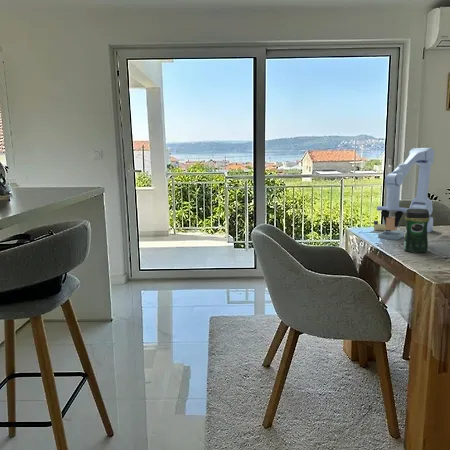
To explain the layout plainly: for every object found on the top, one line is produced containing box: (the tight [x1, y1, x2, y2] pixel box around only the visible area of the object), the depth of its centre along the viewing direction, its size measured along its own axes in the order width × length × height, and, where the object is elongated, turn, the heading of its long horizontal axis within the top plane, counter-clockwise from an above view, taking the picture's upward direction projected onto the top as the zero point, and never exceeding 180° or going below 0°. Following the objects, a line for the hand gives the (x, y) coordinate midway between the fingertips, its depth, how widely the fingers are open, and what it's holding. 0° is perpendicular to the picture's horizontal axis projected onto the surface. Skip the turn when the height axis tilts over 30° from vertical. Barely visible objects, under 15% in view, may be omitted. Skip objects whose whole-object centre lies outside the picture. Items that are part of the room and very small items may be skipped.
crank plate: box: [370, 229, 406, 234], centre depth 208 cm, size 14×14×1 cm
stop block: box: [386, 216, 398, 231], centre depth 194 cm, size 4×4×6 cm
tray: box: [377, 231, 405, 241], centre depth 195 cm, size 9×9×3 cm
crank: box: [373, 220, 391, 231], centre depth 210 cm, size 9×3×5 cm, turn 48°
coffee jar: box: [403, 209, 430, 253], centre depth 172 cm, size 10×8×19 cm
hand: (391, 226), depth 194 cm, fingers closed on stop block, 4 cm apart
